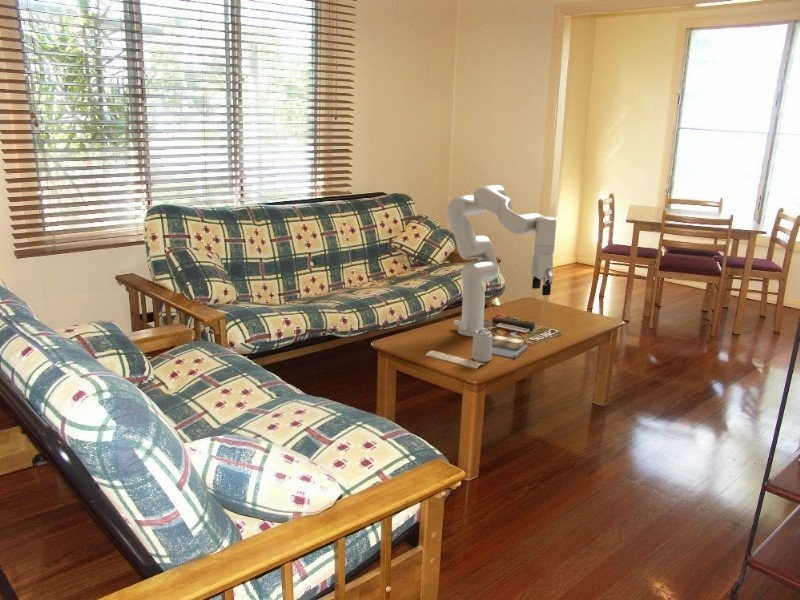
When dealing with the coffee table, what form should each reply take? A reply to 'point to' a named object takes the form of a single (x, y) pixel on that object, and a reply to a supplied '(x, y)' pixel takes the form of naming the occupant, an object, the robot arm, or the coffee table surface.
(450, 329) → the coffee table surface
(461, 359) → the newspaper
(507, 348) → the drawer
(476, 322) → the robot arm
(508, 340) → the ledge
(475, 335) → the can
